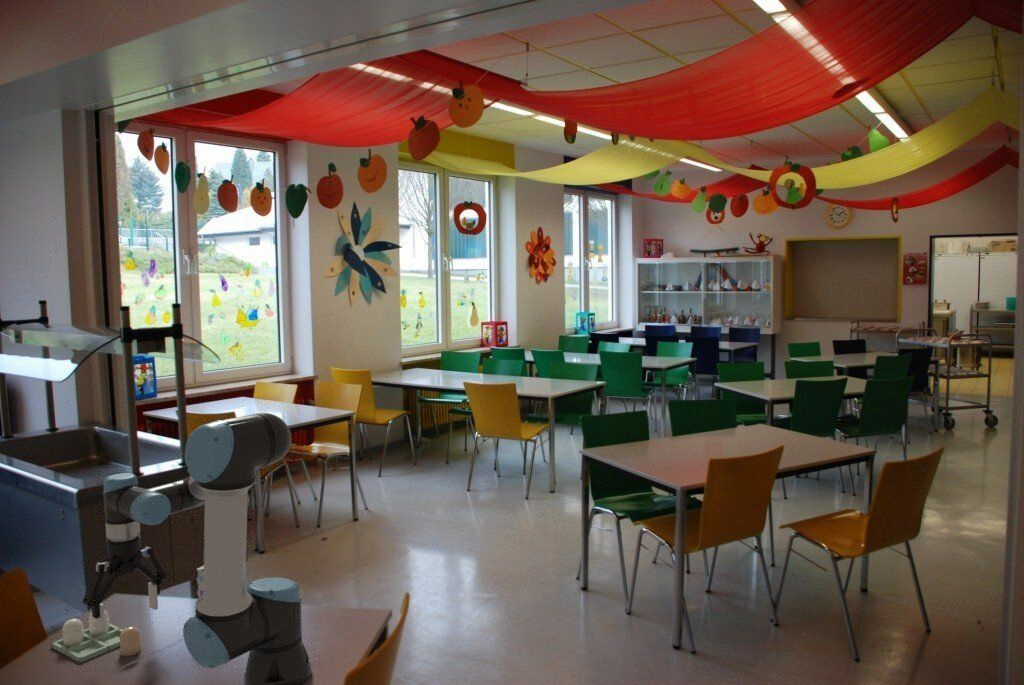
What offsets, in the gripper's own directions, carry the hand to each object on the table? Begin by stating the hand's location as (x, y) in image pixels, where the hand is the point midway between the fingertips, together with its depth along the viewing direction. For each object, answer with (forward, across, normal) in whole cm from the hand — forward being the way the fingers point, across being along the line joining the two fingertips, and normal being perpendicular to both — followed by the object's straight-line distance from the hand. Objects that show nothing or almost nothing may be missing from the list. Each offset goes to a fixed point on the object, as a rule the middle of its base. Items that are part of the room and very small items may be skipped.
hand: (128, 618), depth 194 cm
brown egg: (+9, 0, +1) cm, 9 cm away
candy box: (+9, -25, +3) cm, 27 cm away
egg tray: (+9, +3, -11) cm, 15 cm away
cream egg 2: (+9, 0, -15) cm, 17 cm away
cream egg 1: (+9, +6, -15) cm, 18 cm away
